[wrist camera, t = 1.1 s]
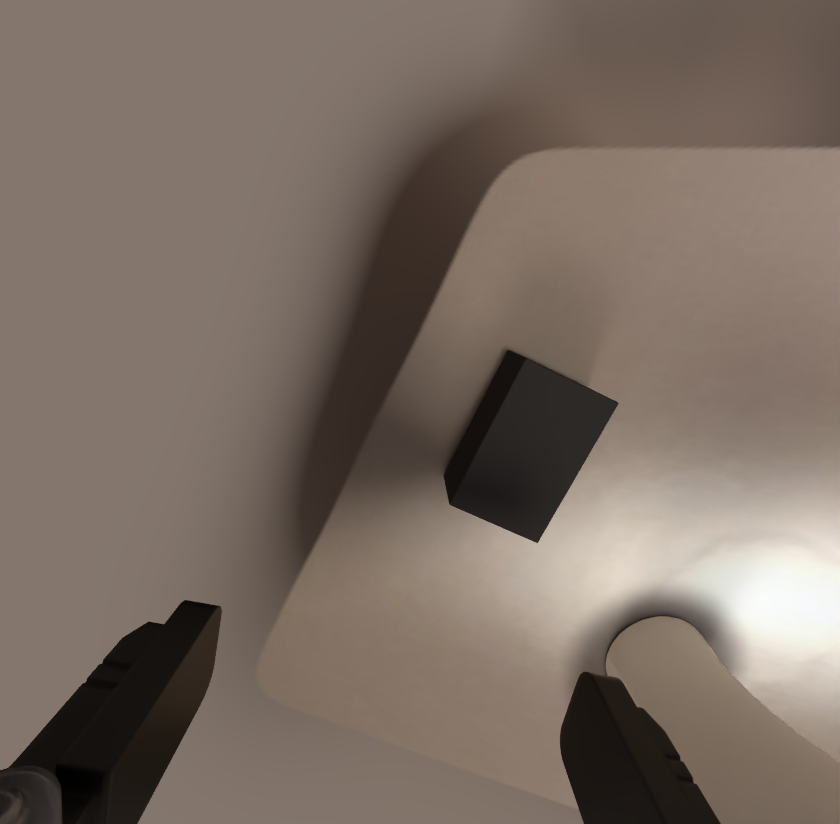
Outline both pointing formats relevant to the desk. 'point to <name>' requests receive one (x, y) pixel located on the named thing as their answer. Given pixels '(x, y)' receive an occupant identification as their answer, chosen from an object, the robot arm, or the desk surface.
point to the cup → (724, 729)
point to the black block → (525, 446)
